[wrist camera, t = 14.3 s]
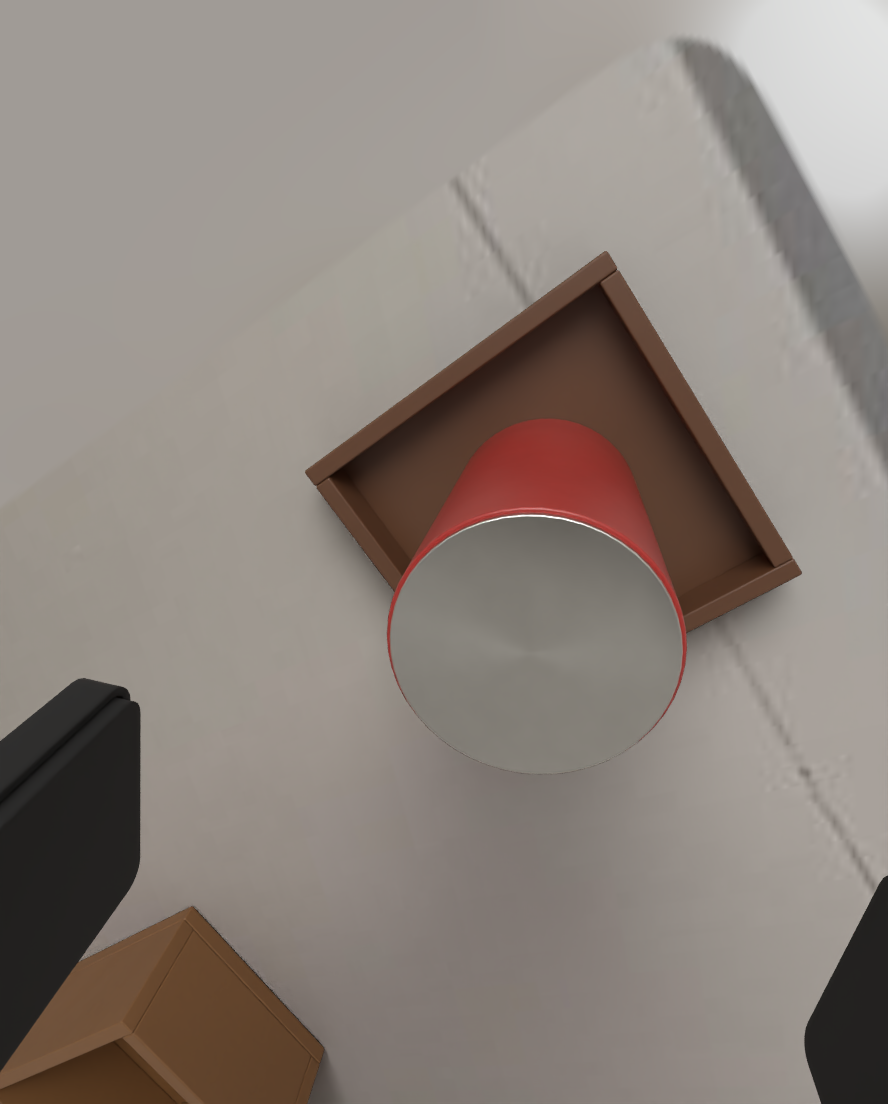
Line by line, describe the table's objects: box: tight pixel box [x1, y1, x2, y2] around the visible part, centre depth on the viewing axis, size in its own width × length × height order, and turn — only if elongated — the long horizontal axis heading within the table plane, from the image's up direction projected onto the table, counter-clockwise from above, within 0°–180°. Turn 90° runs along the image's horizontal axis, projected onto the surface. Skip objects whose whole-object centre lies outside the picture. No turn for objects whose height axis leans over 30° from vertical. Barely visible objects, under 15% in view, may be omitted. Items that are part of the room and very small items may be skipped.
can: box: [387, 419, 687, 774], centre depth 19 cm, size 6×6×10 cm
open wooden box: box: [0, 907, 324, 1104], centre depth 34 cm, size 10×10×6 cm
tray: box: [305, 251, 802, 633], centre depth 23 cm, size 11×11×2 cm
